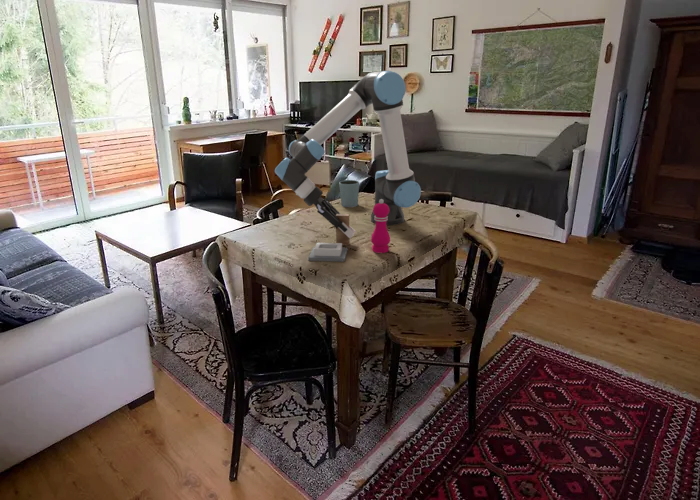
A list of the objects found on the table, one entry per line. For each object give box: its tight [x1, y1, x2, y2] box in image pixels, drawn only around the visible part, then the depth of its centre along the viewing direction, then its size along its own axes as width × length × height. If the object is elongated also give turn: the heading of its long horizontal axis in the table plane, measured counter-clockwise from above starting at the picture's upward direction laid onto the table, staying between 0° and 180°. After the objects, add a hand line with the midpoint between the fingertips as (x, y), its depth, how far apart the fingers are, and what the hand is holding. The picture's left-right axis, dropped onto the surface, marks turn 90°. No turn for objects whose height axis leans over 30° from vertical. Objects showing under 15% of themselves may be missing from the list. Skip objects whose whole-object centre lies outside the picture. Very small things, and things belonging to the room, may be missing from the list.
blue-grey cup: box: [338, 179, 360, 208], centre depth 237 cm, size 10×10×12 cm
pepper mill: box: [370, 199, 391, 254], centre depth 174 cm, size 7×7×20 cm
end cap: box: [308, 242, 348, 263], centre depth 172 cm, size 13×11×4 cm
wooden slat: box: [335, 213, 351, 246], centre depth 182 cm, size 5×2×12 cm, turn 85°
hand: (352, 234), depth 182 cm, fingers closed on wooden slat, 2 cm apart
